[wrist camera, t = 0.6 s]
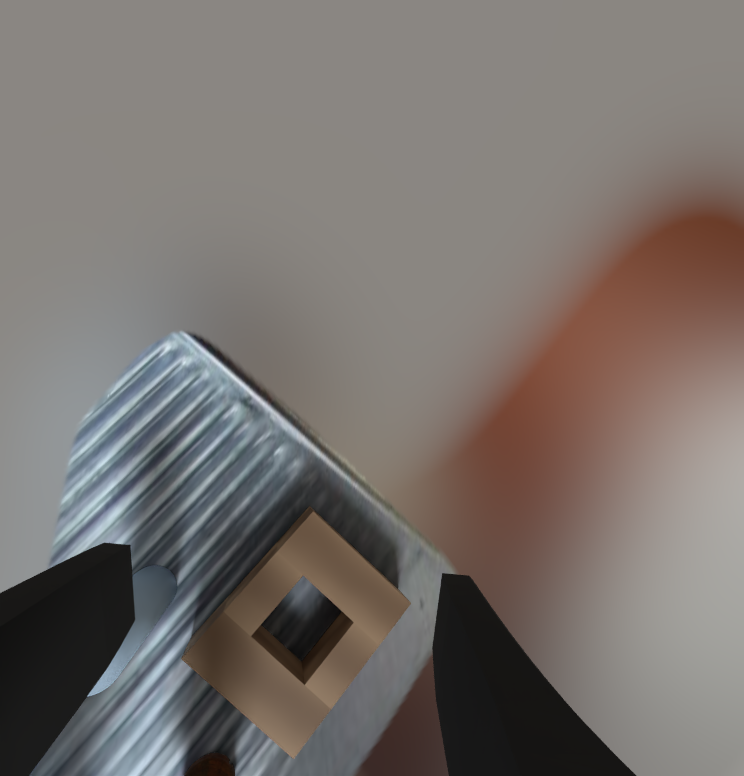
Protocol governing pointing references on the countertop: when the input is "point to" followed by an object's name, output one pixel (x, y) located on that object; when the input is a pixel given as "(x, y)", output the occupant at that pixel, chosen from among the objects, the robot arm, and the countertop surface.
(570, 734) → the robot arm
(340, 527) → the countertop surface
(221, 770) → the bolt
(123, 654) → the dowel
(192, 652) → the hole block
